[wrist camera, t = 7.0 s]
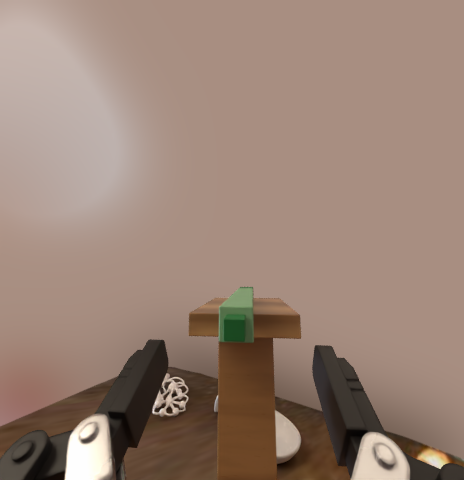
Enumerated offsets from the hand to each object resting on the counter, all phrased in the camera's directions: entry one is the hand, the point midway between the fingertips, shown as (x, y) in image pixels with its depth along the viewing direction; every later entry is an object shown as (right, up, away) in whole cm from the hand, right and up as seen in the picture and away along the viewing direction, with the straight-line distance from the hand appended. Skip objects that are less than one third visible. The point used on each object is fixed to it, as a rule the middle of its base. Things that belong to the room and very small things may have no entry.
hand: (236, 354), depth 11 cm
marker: (+1, -1, +9) cm, 9 cm away
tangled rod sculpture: (-20, -41, +51) cm, 68 cm away
